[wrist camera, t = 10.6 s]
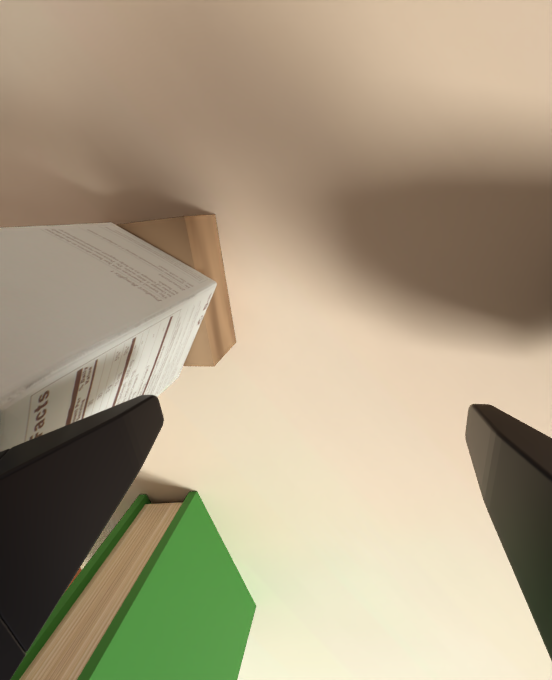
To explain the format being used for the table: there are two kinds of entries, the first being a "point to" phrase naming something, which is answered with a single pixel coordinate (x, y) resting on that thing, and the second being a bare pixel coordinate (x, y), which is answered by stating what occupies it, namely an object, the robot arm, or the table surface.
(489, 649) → the table surface
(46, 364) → the supplement box
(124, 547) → the hardback book
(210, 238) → the stand block
